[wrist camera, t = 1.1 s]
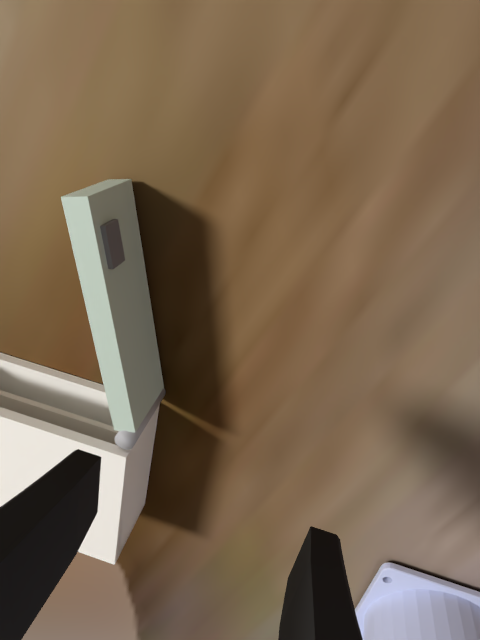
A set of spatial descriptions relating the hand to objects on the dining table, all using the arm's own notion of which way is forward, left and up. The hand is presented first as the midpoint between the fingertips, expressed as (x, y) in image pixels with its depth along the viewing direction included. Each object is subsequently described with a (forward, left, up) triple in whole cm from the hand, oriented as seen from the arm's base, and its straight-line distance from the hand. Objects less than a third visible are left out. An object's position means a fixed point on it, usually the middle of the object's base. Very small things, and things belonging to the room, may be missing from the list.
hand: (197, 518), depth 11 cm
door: (-1, +6, -10) cm, 12 cm away
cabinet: (-10, +10, -10) cm, 18 cm away
